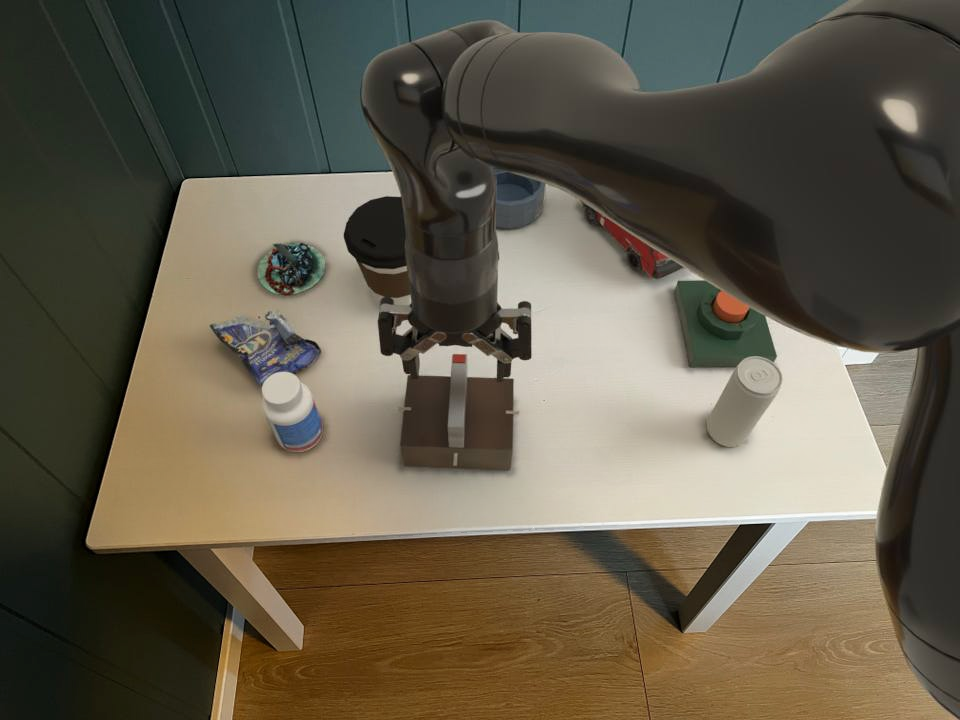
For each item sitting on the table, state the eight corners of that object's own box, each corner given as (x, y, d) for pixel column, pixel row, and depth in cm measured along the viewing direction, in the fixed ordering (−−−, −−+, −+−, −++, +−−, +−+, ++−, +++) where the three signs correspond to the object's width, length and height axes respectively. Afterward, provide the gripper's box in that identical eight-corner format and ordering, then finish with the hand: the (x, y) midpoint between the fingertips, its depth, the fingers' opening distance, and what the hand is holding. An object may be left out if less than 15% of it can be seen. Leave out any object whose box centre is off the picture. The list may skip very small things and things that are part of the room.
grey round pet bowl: (557, 211, 104) (561, 185, 100) (497, 241, 101) (498, 215, 97) (515, 170, 109) (517, 143, 105) (456, 197, 105) (456, 170, 101)
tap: (463, 447, 77) (463, 426, 73) (448, 447, 77) (447, 426, 73) (467, 376, 82) (467, 352, 78) (453, 376, 82) (452, 352, 78)
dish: (329, 270, 94) (276, 239, 91) (301, 313, 96) (248, 284, 94) (331, 249, 101) (282, 220, 98) (305, 290, 103) (256, 262, 101)
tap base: (517, 385, 88) (519, 362, 83) (516, 487, 80) (518, 467, 76) (407, 382, 88) (404, 358, 84) (396, 483, 81) (392, 463, 76)
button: (748, 323, 89) (753, 314, 87) (716, 323, 88) (720, 314, 87) (741, 297, 91) (746, 288, 89) (709, 297, 91) (713, 288, 89)
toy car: (642, 295, 96) (658, 242, 87) (572, 204, 105) (581, 149, 96) (699, 272, 98) (720, 218, 89) (626, 185, 107) (638, 129, 99)
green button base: (771, 366, 89) (782, 348, 86) (689, 367, 89) (698, 348, 86) (749, 290, 96) (759, 270, 93) (673, 291, 96) (681, 271, 93)
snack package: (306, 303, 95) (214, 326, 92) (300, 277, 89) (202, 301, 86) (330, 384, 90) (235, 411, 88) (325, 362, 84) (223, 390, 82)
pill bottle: (333, 428, 84) (318, 383, 76) (300, 462, 82) (281, 419, 74) (300, 403, 86) (281, 357, 78) (266, 436, 84) (244, 391, 76)
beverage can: (698, 418, 85) (727, 361, 75) (734, 408, 86) (768, 350, 76) (717, 454, 83) (750, 400, 73) (755, 442, 84) (793, 387, 74)
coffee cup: (402, 337, 92) (393, 275, 82) (338, 296, 95) (322, 231, 85) (456, 284, 96) (454, 218, 86) (393, 246, 100) (384, 180, 90)
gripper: (360, 299, 58) (383, 403, 72) (539, 304, 58) (528, 407, 71) (372, 230, 62) (391, 341, 76) (538, 235, 62) (528, 345, 76)
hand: (458, 373), depth 74 cm, fingers open, 8 cm apart
